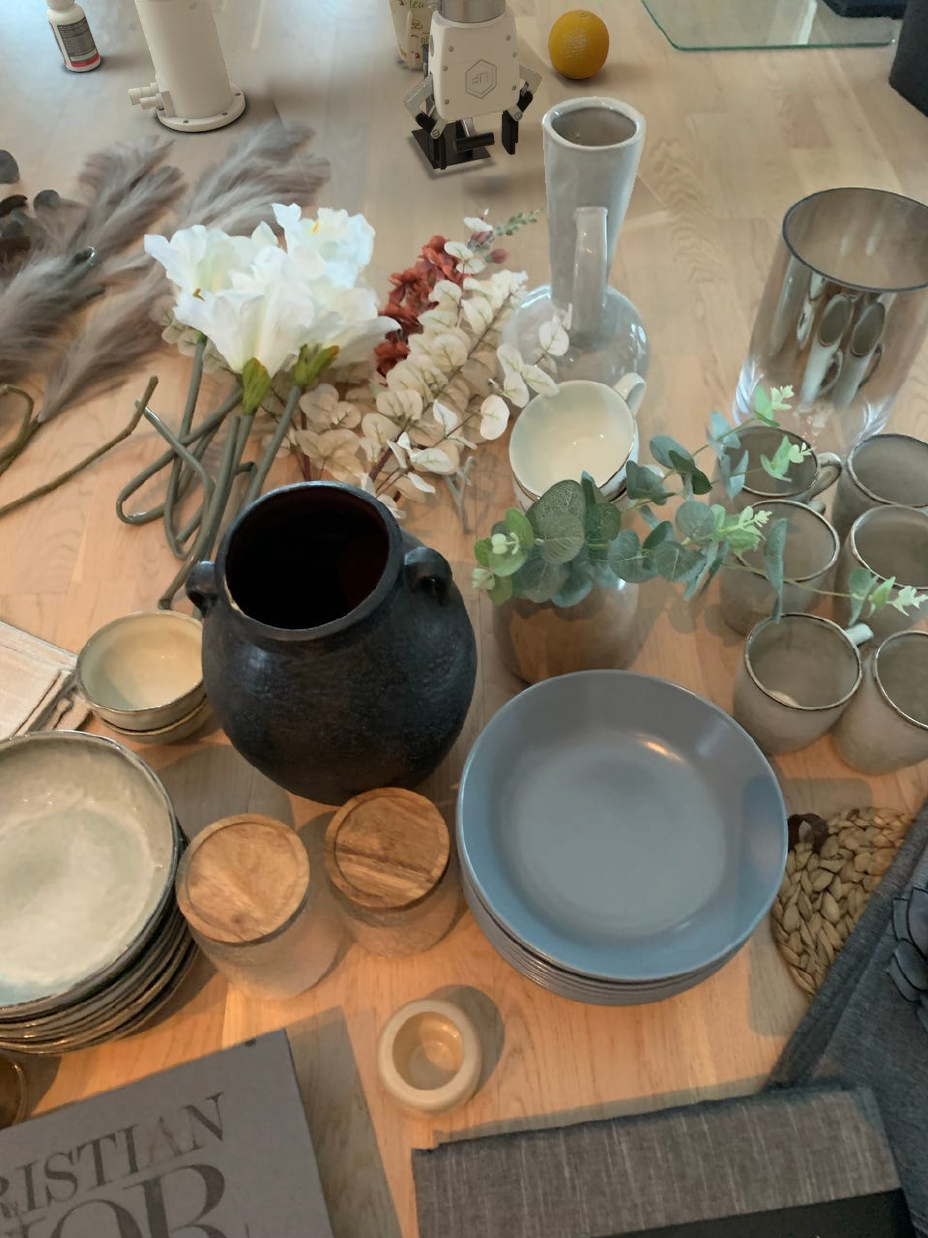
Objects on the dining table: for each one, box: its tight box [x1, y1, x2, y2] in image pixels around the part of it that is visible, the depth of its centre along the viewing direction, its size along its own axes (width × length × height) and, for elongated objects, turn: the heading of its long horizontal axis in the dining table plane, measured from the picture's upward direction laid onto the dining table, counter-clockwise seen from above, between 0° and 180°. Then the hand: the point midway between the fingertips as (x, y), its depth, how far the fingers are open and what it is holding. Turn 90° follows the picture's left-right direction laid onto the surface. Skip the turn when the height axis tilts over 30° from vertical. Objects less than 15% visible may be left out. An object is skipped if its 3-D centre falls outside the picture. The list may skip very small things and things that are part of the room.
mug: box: [388, 0, 437, 68], centre depth 125 cm, size 8×13×10 cm, turn 174°
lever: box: [453, 117, 496, 153], centre depth 107 cm, size 13×5×2 cm, turn 19°
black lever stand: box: [410, 43, 492, 170], centre depth 111 cm, size 10×8×13 cm
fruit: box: [547, 9, 610, 80], centre depth 124 cm, size 9×8×8 cm
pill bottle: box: [45, 0, 101, 73], centre depth 129 cm, size 5×5×10 cm
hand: (474, 156), depth 108 cm, fingers open, 8 cm apart
